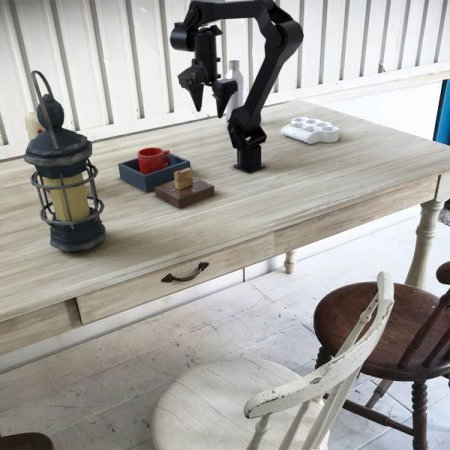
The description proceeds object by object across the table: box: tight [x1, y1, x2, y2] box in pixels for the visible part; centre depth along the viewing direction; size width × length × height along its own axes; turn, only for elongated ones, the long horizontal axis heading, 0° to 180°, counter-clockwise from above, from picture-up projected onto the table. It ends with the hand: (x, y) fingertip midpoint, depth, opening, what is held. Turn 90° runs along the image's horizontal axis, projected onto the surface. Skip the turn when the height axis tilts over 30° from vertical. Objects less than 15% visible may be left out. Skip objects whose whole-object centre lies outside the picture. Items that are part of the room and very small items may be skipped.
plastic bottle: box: [223, 59, 246, 125], centre depth 169 cm, size 6×7×20 cm
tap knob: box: [174, 168, 194, 190], centre depth 128 cm, size 4×1×4 cm, turn 131°
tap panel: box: [154, 175, 216, 210], centre depth 130 cm, size 10×11×3 cm
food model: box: [24, 111, 50, 194], centre depth 130 cm, size 10×7×20 cm
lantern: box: [23, 69, 107, 253], centre depth 103 cm, size 14×13×35 cm
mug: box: [137, 147, 171, 175], centre depth 139 cm, size 9×7×6 cm
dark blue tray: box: [117, 152, 192, 193], centre depth 140 cm, size 13×15×4 cm
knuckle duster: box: [280, 116, 340, 145], centre depth 162 cm, size 3×18×15 cm
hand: (209, 114), depth 145 cm, fingers open, 9 cm apart
